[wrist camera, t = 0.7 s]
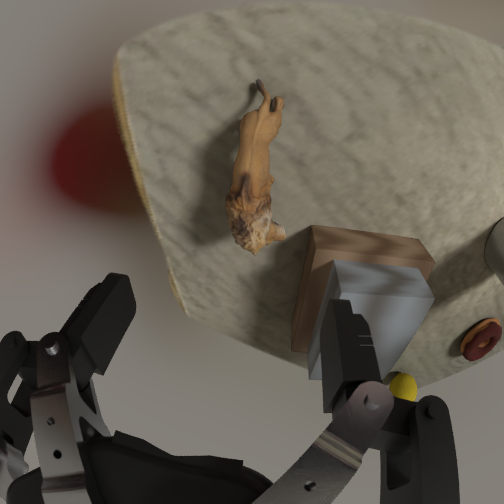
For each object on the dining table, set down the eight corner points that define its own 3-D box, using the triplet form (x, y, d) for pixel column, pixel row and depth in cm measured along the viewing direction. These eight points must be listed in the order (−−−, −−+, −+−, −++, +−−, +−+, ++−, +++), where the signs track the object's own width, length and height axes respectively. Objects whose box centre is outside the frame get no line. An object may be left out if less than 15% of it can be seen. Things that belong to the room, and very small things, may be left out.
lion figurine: (285, 216, 30) (285, 263, 23) (237, 215, 31) (221, 261, 23) (284, 79, 22) (286, 71, 15) (229, 81, 23) (205, 75, 15)
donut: (501, 307, 34) (510, 322, 31) (491, 338, 39) (498, 352, 36) (462, 326, 37) (470, 342, 34) (455, 355, 42) (460, 370, 39)
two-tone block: (418, 239, 30) (453, 291, 21) (379, 329, 38) (393, 382, 30) (311, 224, 30) (321, 281, 22) (291, 324, 39) (290, 382, 31)
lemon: (400, 363, 43) (409, 398, 36) (416, 368, 44) (426, 401, 37) (380, 378, 46) (387, 412, 39) (397, 382, 47) (404, 414, 40)
